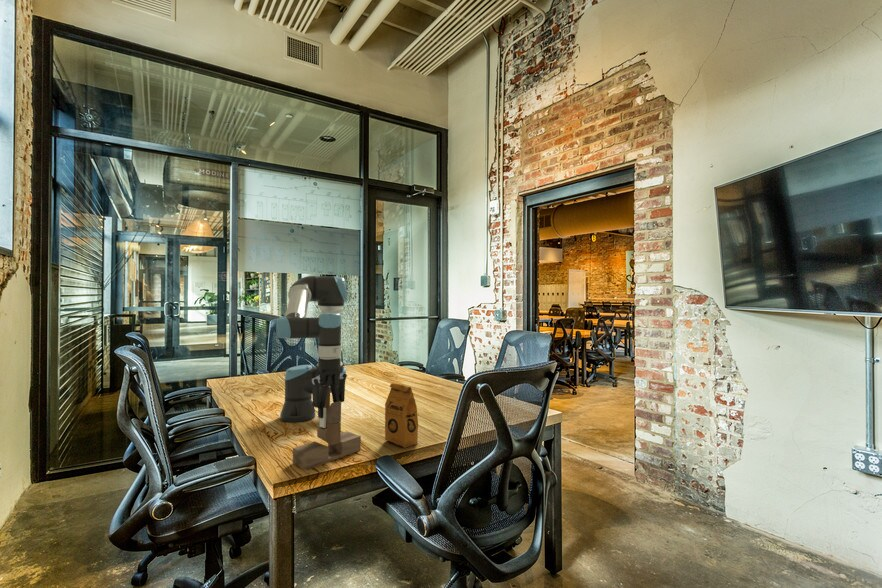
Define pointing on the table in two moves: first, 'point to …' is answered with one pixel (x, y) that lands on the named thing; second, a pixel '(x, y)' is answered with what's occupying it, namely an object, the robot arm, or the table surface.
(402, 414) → the coffee package
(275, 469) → the table surface
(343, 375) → the robot arm
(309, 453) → the slotted sill
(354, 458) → the table surface
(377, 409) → the table surface
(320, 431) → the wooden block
